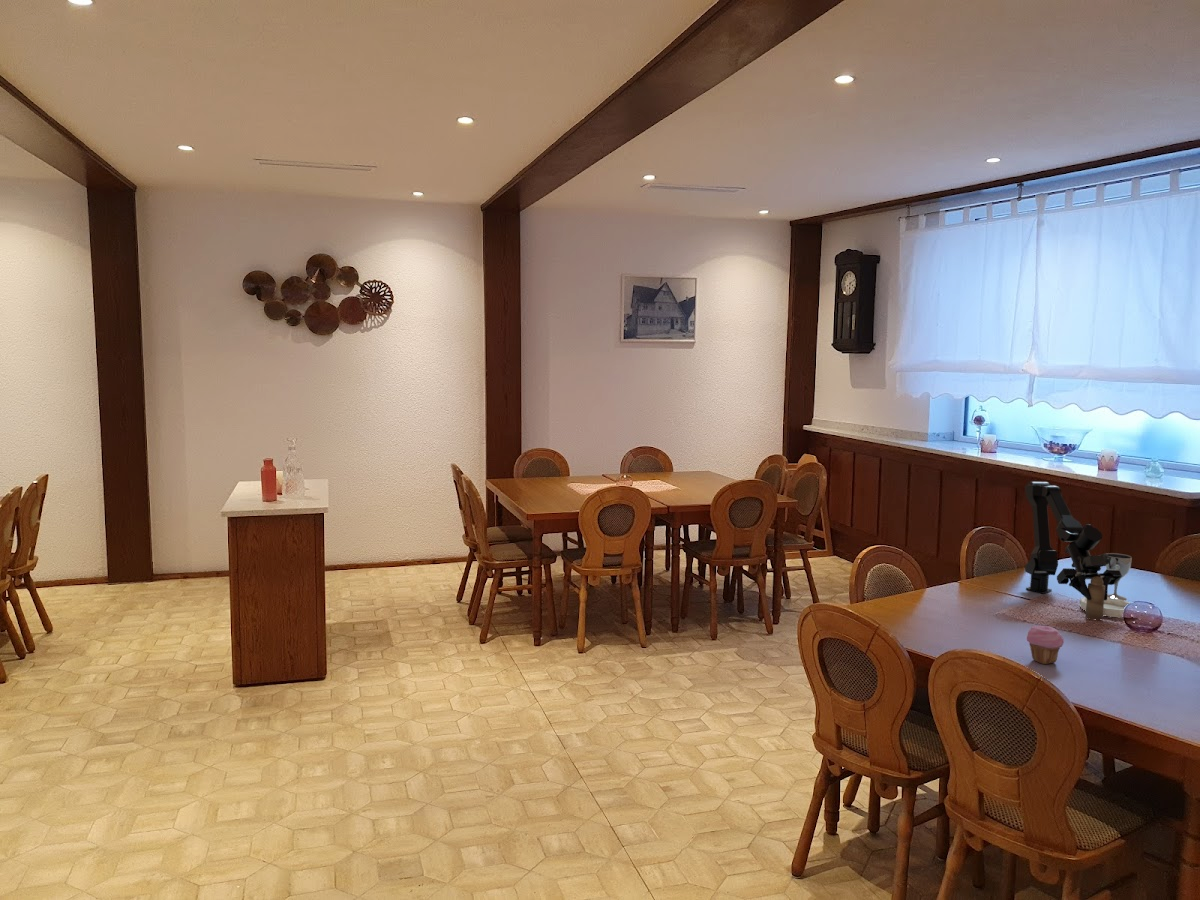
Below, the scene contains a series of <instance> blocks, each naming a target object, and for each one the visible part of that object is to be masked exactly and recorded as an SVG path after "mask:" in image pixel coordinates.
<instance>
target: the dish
mask: <svg viewBox="0 0 1200 900" xmlns="http://www.w3.org/2000/svg"><path fill="white" fill-rule="evenodd" d="M1129 603H1131V602H1130V601H1127V600H1120V599H1115V598H1109V597H1107V600H1104V607H1103V615H1106V616H1111V617H1122V614H1123V611H1124V607H1125V606H1126V605H1127V604H1129ZM1086 604H1087V598H1086V597H1085V596H1083V597H1080V599H1079V607H1080V606H1081V608H1082V609H1084V610H1086ZM1081 608H1080V609H1081ZM1082 609H1081V610H1082ZM1084 610H1083V611H1084ZM1111 617H1110V618H1111Z"/></svg>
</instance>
